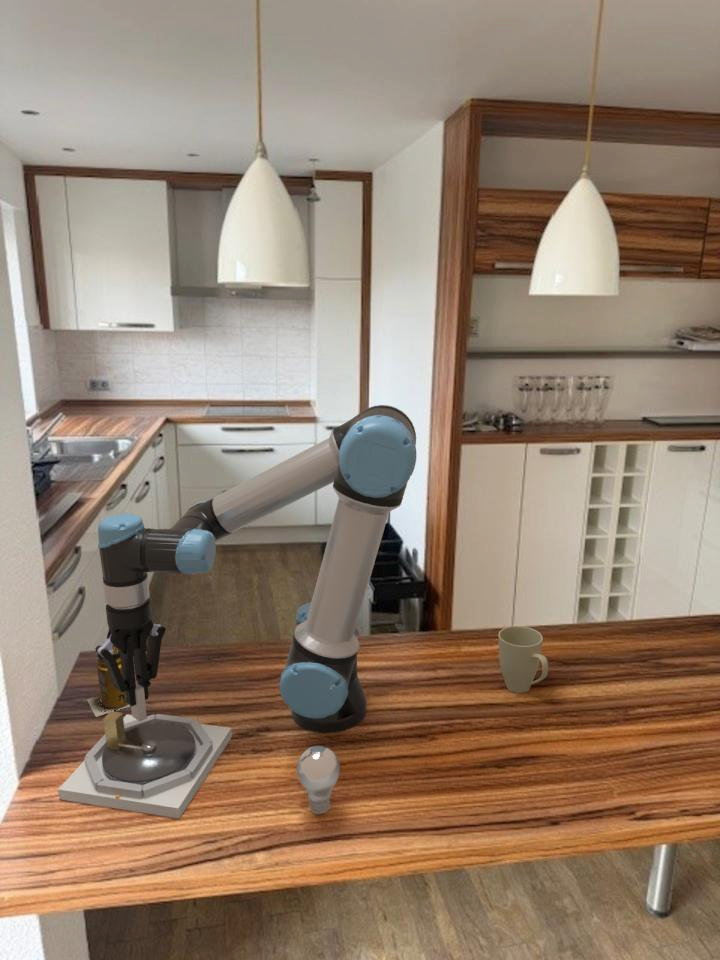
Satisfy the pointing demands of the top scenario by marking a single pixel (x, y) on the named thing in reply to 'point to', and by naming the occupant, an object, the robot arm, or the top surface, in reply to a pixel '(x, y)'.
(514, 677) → the mug
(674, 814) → the top surface
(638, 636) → the top surface
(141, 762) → the dial
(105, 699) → the condiment
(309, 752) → the light bulb
